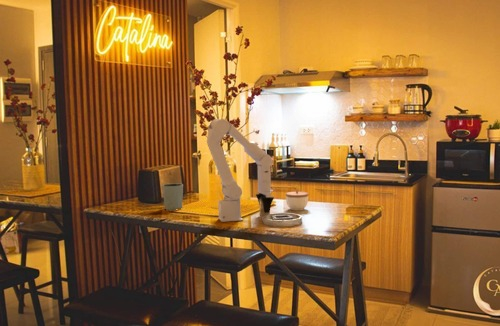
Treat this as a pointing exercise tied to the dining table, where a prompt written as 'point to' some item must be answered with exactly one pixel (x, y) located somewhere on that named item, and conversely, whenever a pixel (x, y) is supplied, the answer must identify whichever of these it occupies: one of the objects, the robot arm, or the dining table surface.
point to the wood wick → (262, 209)
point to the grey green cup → (173, 196)
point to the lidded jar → (297, 200)
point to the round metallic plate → (282, 219)
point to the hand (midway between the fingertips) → (264, 211)
